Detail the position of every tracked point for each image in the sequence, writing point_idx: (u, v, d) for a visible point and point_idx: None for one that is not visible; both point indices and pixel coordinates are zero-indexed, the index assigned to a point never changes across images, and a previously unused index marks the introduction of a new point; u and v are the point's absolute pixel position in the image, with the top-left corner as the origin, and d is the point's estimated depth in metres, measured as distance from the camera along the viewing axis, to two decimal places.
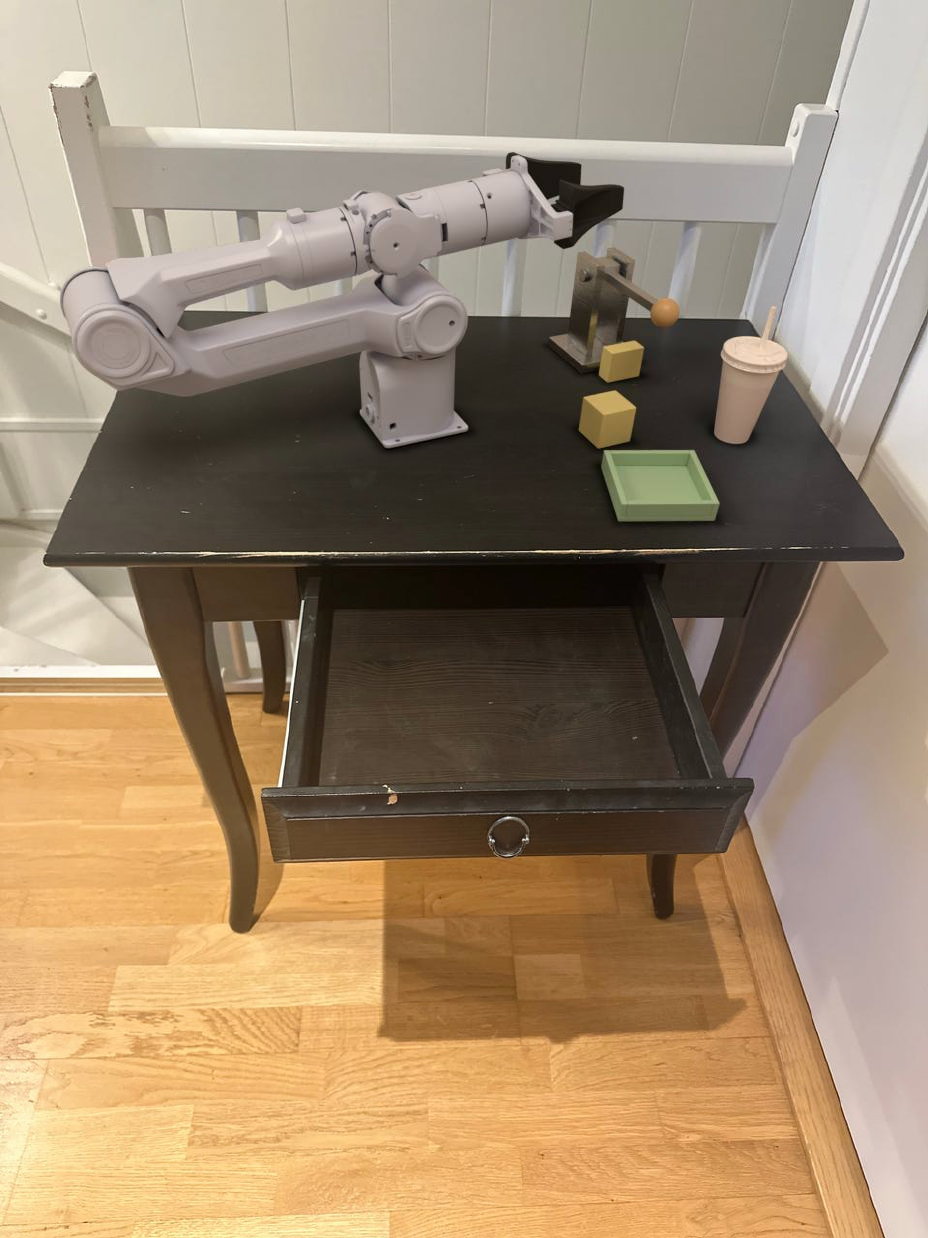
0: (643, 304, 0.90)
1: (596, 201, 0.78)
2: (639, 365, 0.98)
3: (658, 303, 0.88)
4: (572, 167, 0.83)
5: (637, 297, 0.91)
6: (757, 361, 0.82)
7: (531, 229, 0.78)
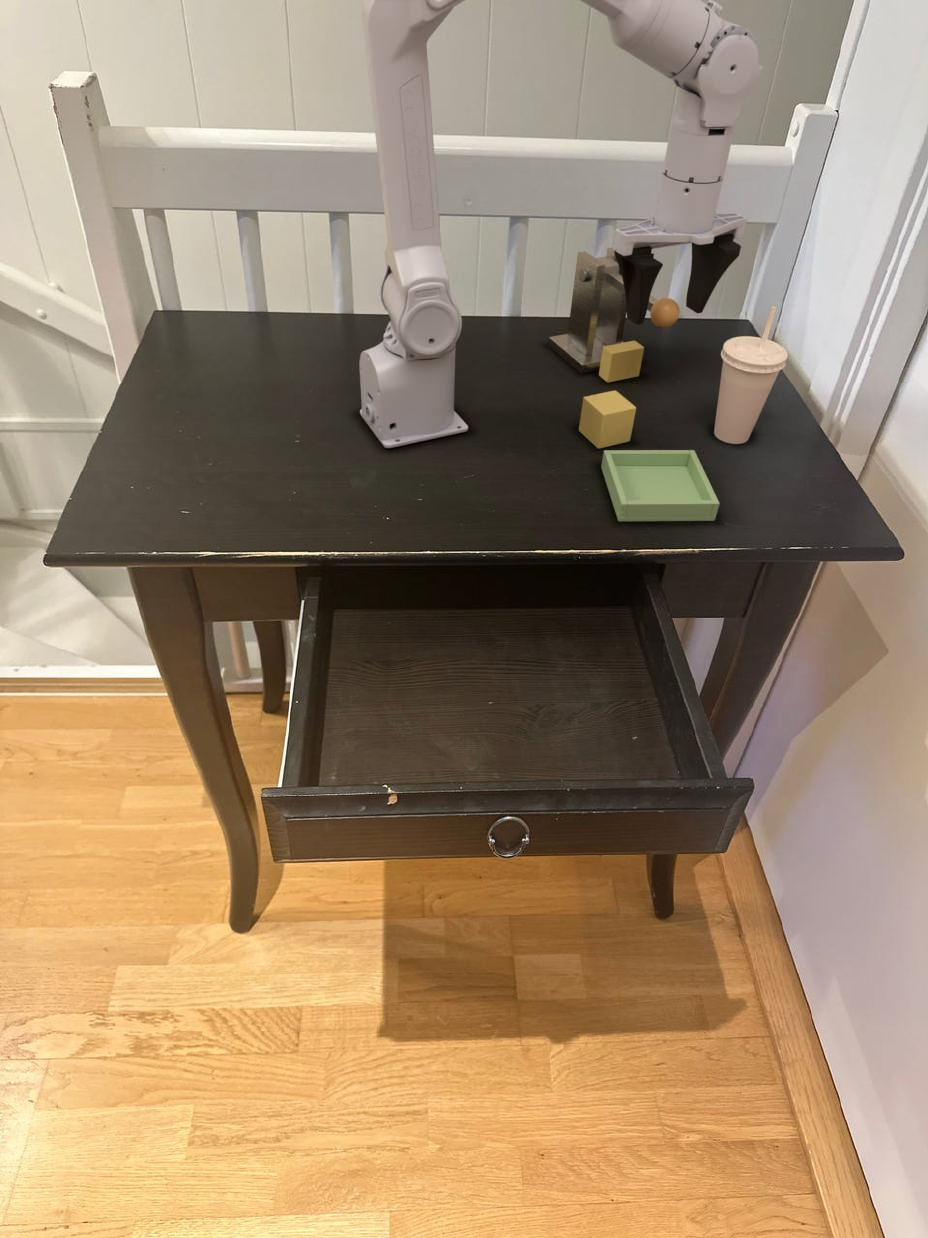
0: None
1: (637, 293, 0.85)
2: (639, 365, 0.98)
3: (658, 303, 0.88)
4: (698, 303, 0.89)
5: None
6: (757, 361, 0.82)
7: (651, 223, 0.83)
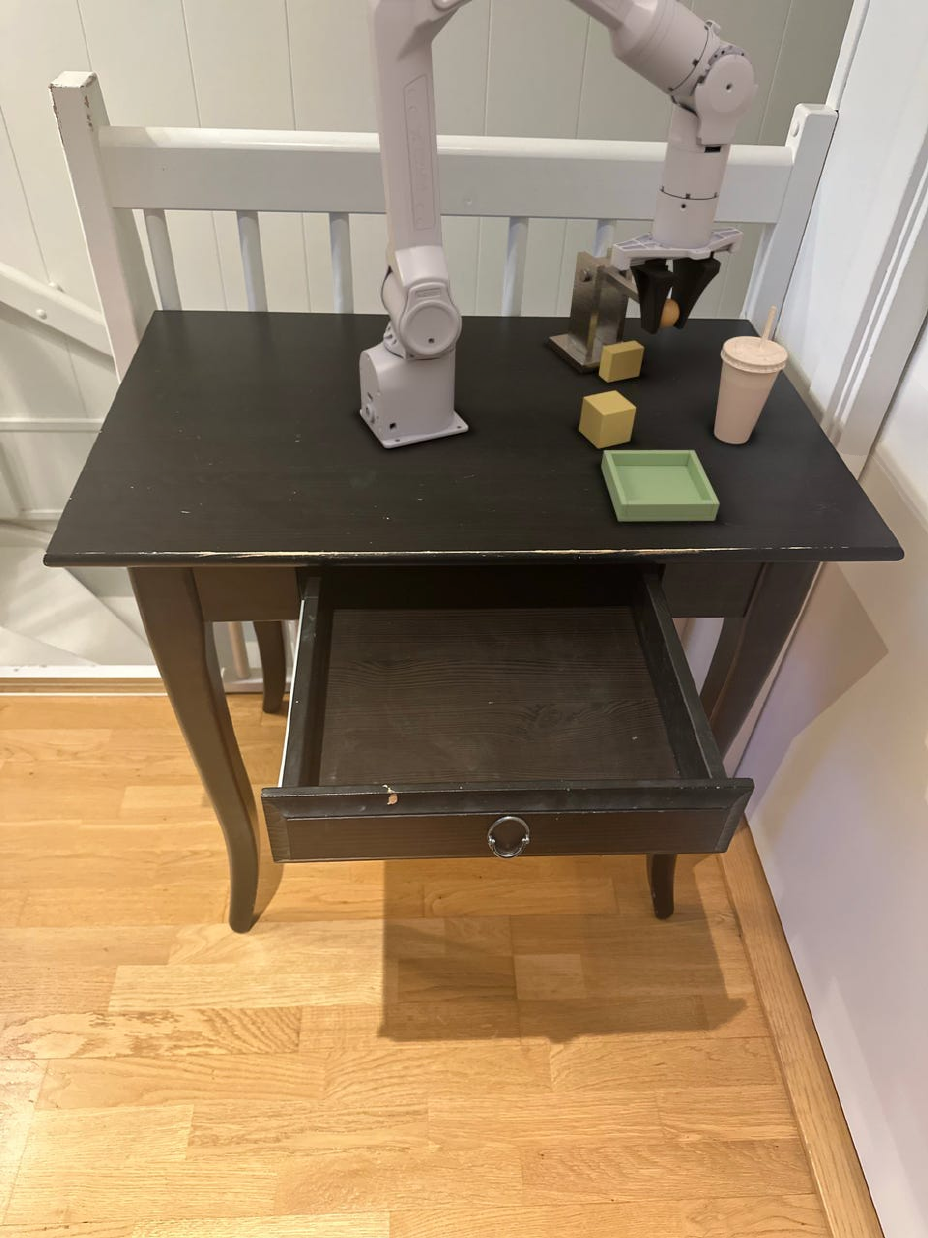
0: None
1: (651, 303, 0.87)
2: (639, 365, 0.98)
3: None
4: (679, 319, 0.89)
5: (637, 297, 0.91)
6: (757, 361, 0.82)
7: (648, 238, 0.84)
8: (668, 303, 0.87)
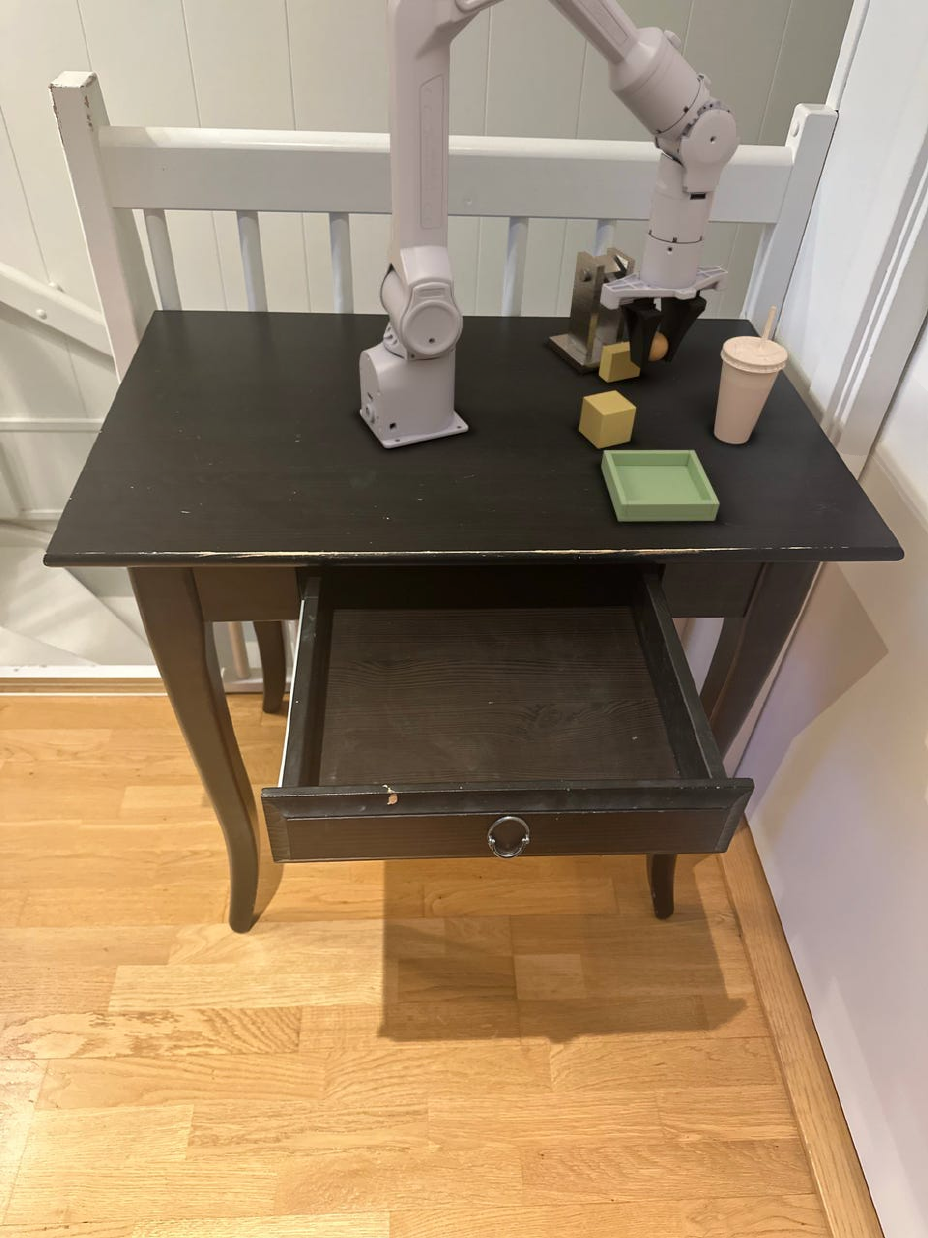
0: None
1: (640, 339, 0.90)
2: None
3: None
4: (667, 353, 0.92)
5: None
6: (757, 361, 0.82)
7: (636, 278, 0.87)
8: (658, 341, 0.90)
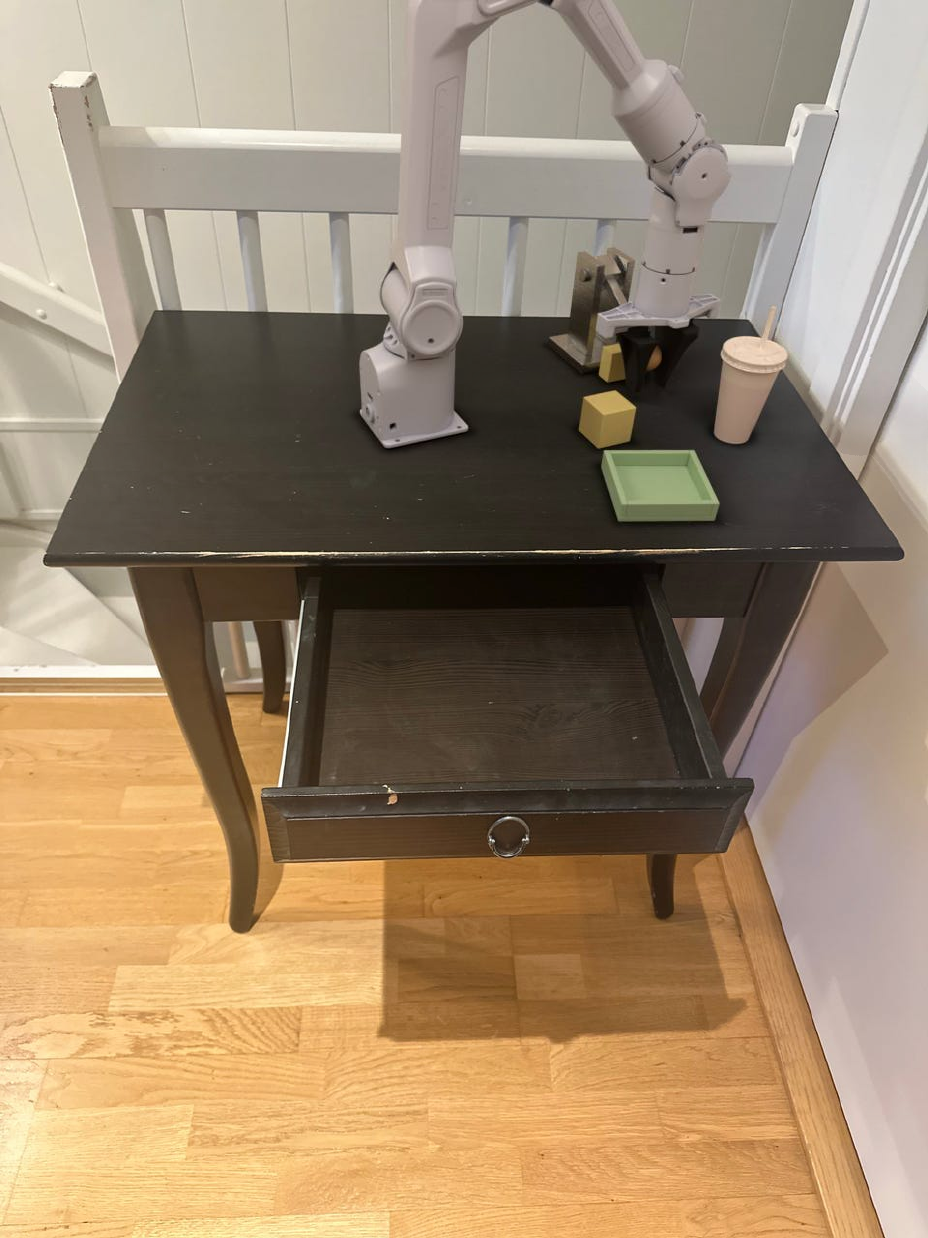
0: None
1: (635, 365, 0.92)
2: None
3: None
4: (661, 378, 0.94)
5: None
6: (757, 361, 0.82)
7: (631, 306, 0.89)
8: (653, 353, 0.92)
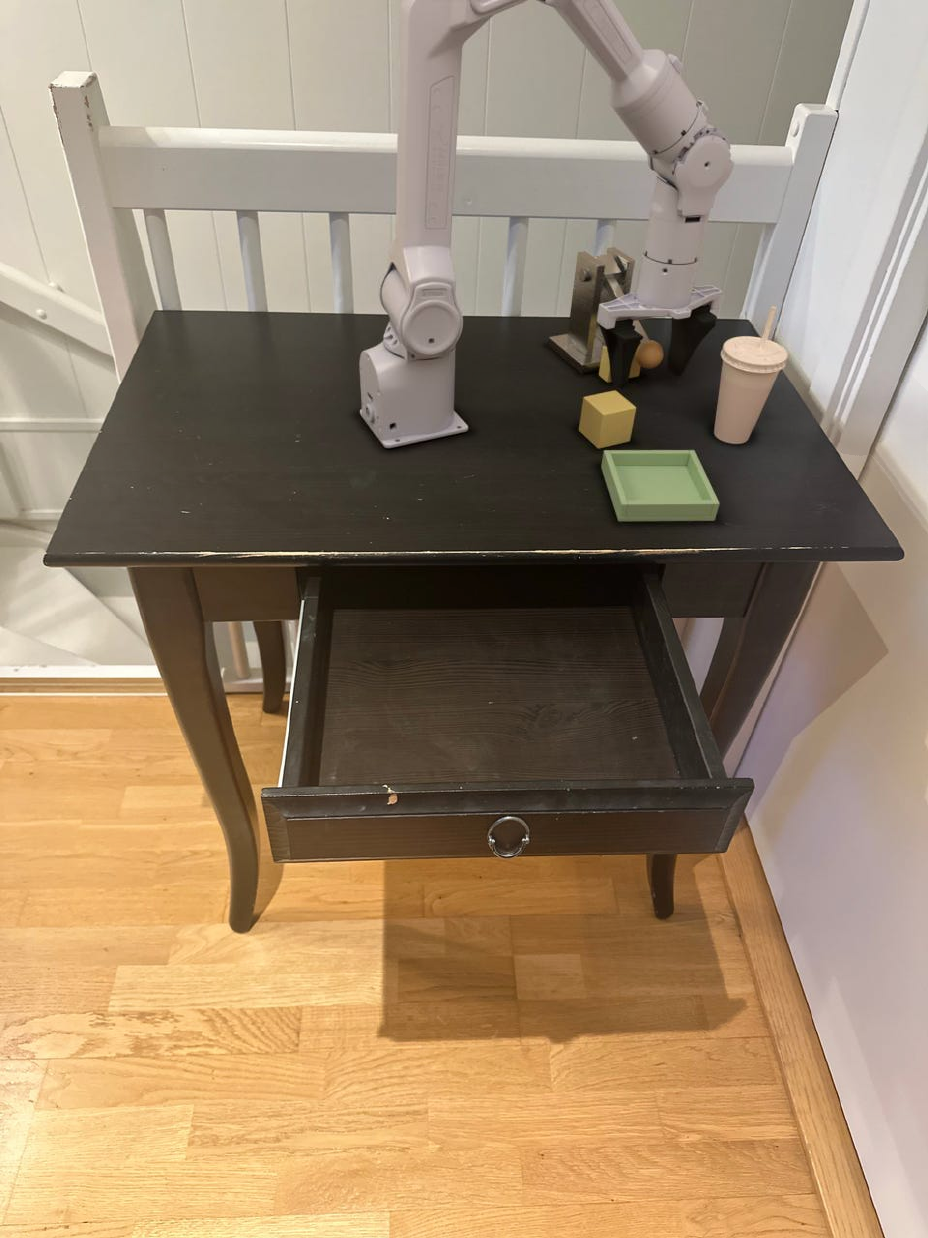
0: None
1: (620, 360, 0.91)
2: (639, 365, 0.98)
3: (645, 348, 0.92)
4: (678, 367, 0.94)
5: None
6: (757, 361, 0.82)
7: (632, 297, 0.88)
8: (654, 351, 0.91)
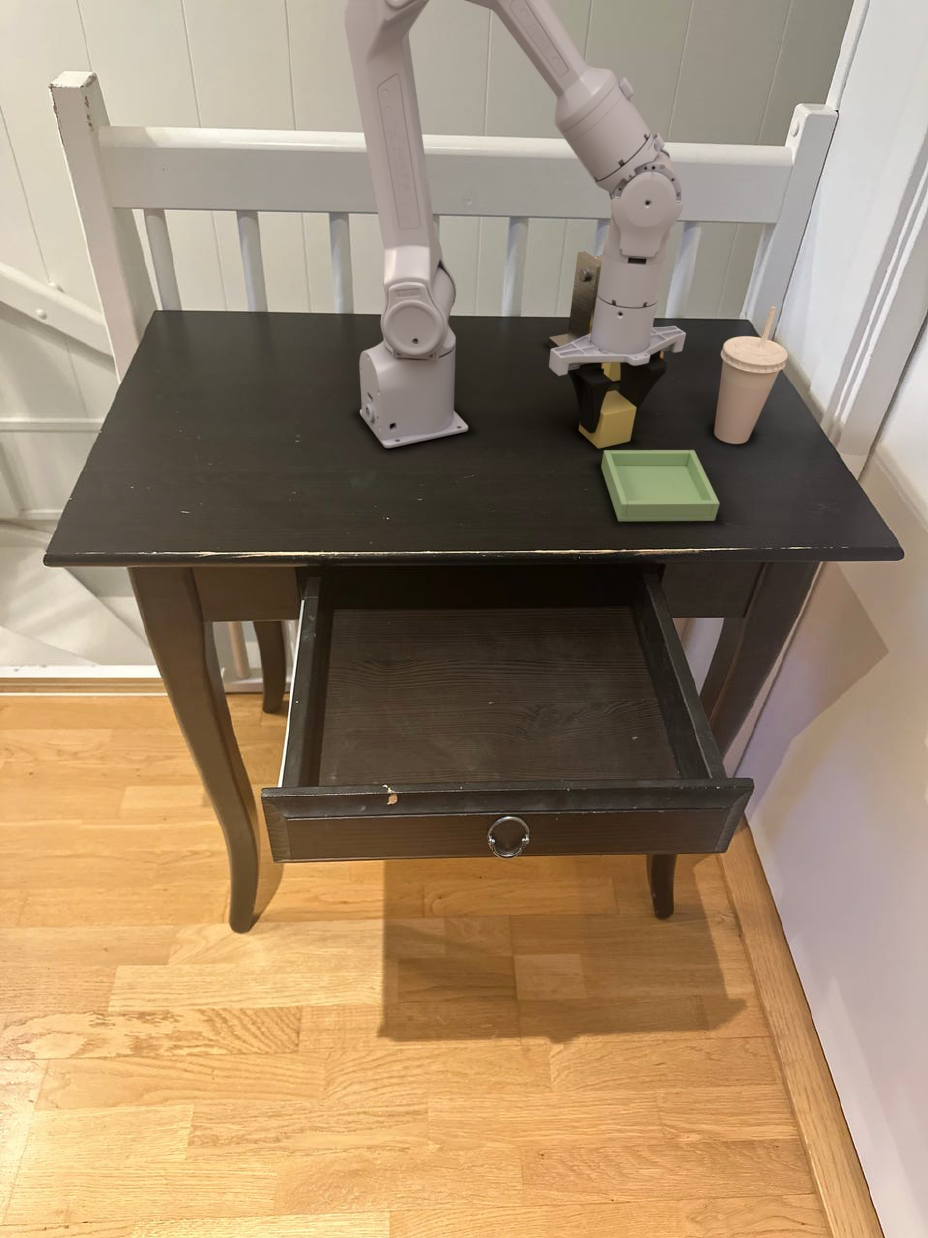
0: None
1: (589, 404, 0.85)
2: None
3: None
4: None
5: None
6: (757, 361, 0.82)
7: (588, 340, 0.82)
8: None
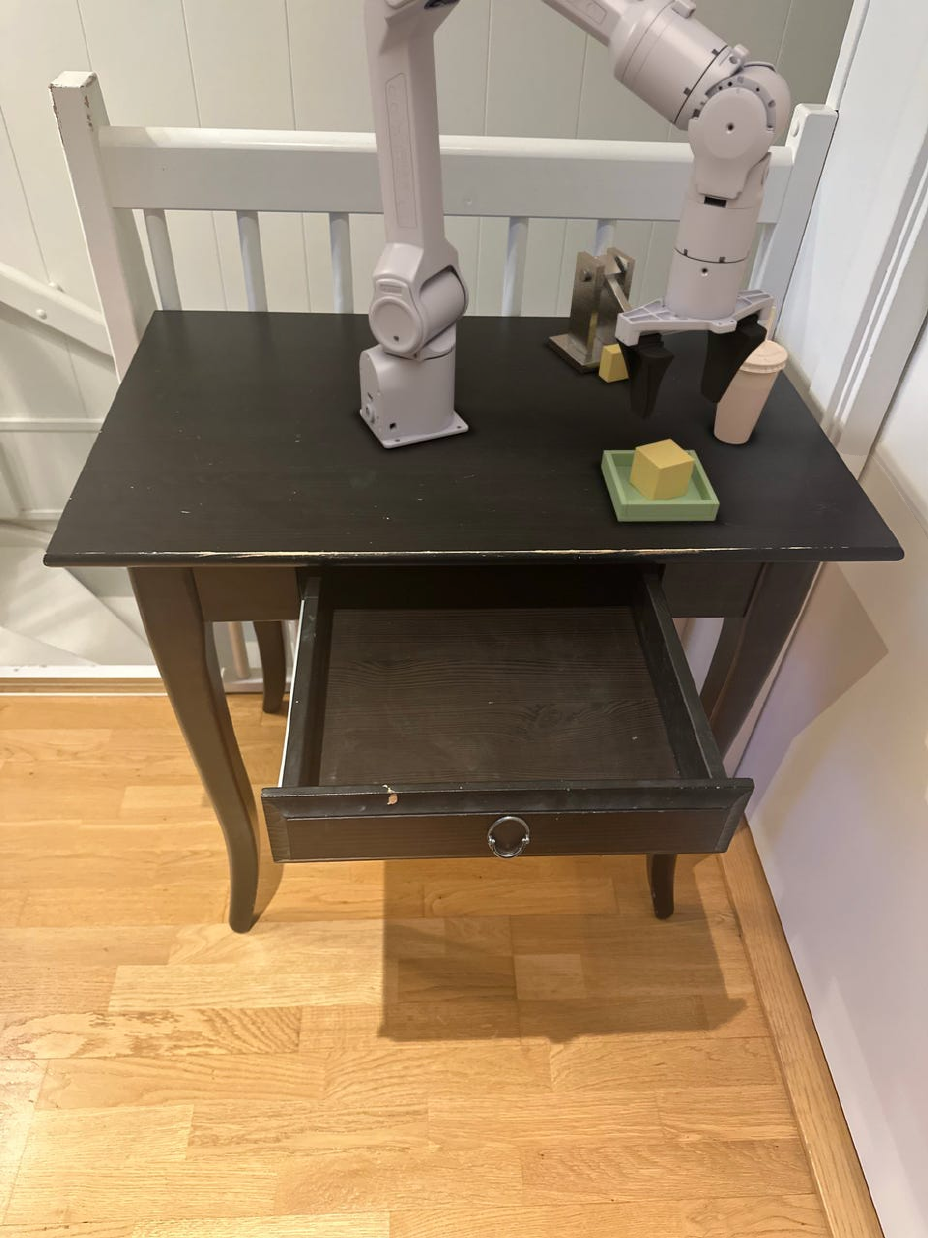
0: None
1: (643, 384, 0.71)
2: None
3: None
4: (715, 392, 0.75)
5: None
6: (757, 361, 0.82)
7: (660, 305, 0.69)
8: None
